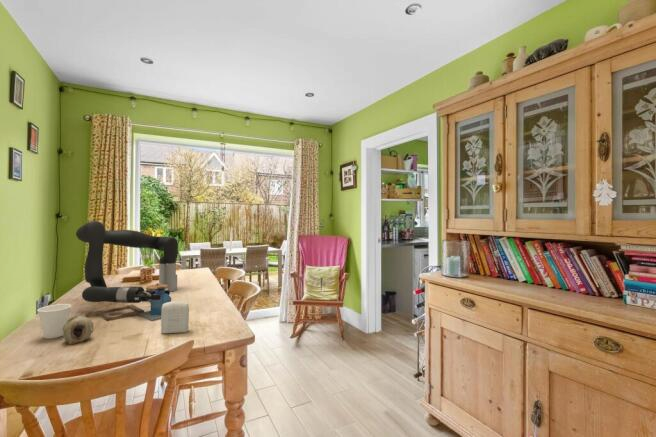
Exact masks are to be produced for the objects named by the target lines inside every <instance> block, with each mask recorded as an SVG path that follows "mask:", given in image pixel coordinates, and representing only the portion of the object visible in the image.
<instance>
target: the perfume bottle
mask: <svg viewBox="0 0 656 437" xmlns="http://www.w3.org/2000/svg"><path fill="white" fill-rule="evenodd" d="M157 289H158V290H157V293H158V294H157V295H161V299H160V300H151V301H150V311H151V315H161V310H162V305H163V304H164V303H167V302H172V298H171V296H170V294H169V295H168V294H165V287H158V288H157Z"/></svg>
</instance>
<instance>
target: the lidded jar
mask: <svg viewBox="0 0 656 437" xmlns="http://www.w3.org/2000/svg"><path fill="white" fill-rule="evenodd" d="M158 287H165V290H168V285H166V284H159V282H157V283H156V284H150V285H147V286H146V288H145V289H146V290H150V289H157V288H158ZM146 290H145V291H146ZM154 295H155V294H154Z"/></svg>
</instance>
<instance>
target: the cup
mask: <svg viewBox="0 0 656 437" xmlns="http://www.w3.org/2000/svg"><path fill="white" fill-rule="evenodd" d="M71 307H72V304H69V303H58V304H52V305H46V306H42V307H39V308H38V309H37V310H36V311H37V312H38V317H39V321H40V325H41V330H42V336H43V338H45V339H48V340H49V339H51V340H53V339H58V338H60V337H63V330H62V328H63V326H64V324H65V323H66V322H67V320H69V316H70V312H71Z"/></svg>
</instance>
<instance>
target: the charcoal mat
mask: <svg viewBox="0 0 656 437" xmlns="http://www.w3.org/2000/svg"><path fill="white" fill-rule="evenodd" d="M138 315H139V316H141V317H143V318H145V319H147V320H148V321H151V322H154V321H158V320H161V315H151V310H147V311H144V312H142V313H139V314H138Z"/></svg>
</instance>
